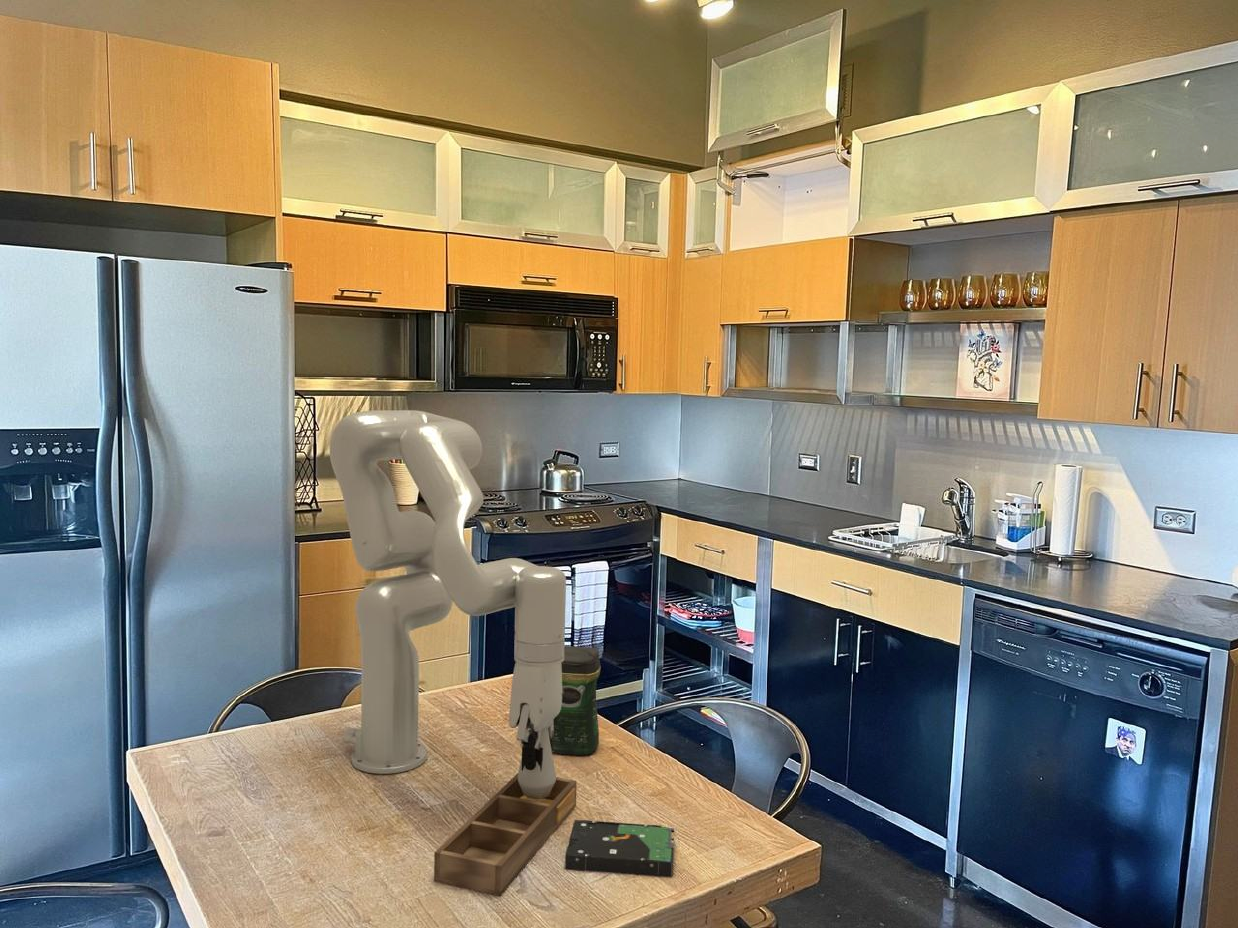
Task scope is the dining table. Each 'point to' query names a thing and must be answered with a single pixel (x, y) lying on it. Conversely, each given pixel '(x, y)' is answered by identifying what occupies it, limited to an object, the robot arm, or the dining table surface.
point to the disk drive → (620, 848)
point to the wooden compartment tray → (502, 837)
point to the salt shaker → (537, 780)
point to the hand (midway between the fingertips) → (536, 766)
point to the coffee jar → (578, 703)
